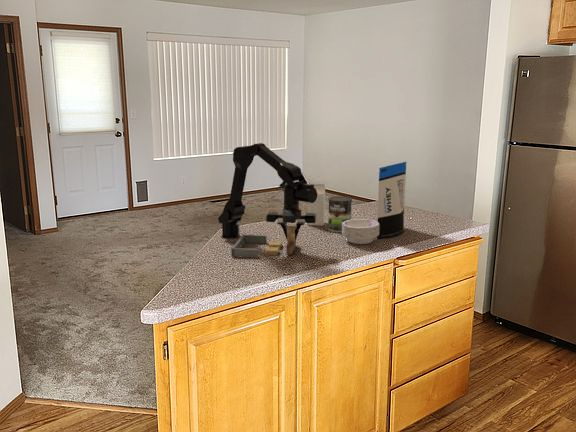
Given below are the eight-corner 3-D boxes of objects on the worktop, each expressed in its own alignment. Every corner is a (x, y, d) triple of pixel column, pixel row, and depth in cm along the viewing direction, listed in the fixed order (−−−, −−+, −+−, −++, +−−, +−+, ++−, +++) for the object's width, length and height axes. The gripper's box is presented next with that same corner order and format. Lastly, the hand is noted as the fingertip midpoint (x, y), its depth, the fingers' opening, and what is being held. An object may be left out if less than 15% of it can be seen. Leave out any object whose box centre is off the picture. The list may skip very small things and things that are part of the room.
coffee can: (347, 233, 230) (348, 201, 227) (324, 231, 234) (325, 199, 231) (353, 227, 239) (354, 197, 236) (332, 225, 243) (332, 195, 240)
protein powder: (412, 229, 236) (416, 162, 229) (387, 241, 218) (390, 169, 211) (393, 226, 242) (396, 160, 235) (366, 237, 223) (369, 167, 216)
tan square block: (268, 249, 209) (268, 244, 208) (270, 246, 213) (270, 241, 213) (280, 249, 208) (280, 244, 208) (281, 246, 213) (281, 241, 212)
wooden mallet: (285, 254, 199) (285, 230, 197) (289, 243, 213) (289, 220, 211) (293, 254, 199) (293, 230, 197) (297, 244, 212) (297, 221, 210)
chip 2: (265, 255, 201) (265, 250, 201) (267, 252, 205) (267, 247, 205) (277, 255, 201) (277, 250, 200) (278, 252, 205) (278, 247, 204)
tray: (231, 256, 199) (231, 248, 198) (242, 241, 218) (242, 234, 217) (257, 257, 198) (257, 249, 197) (266, 242, 217) (266, 235, 216)
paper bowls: (335, 238, 222) (335, 220, 220) (366, 234, 228) (366, 216, 226) (353, 248, 208) (354, 229, 207) (386, 244, 214) (387, 225, 212)
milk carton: (322, 226, 243) (323, 185, 238) (307, 225, 244) (307, 184, 240) (325, 222, 249) (325, 182, 245) (310, 221, 251) (310, 182, 246)
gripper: (263, 203, 195) (264, 244, 198) (314, 204, 192) (313, 245, 196) (268, 197, 205) (268, 236, 209) (316, 198, 203) (316, 237, 207)
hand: (291, 239), depth 205 cm, fingers closed on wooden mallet, 3 cm apart
